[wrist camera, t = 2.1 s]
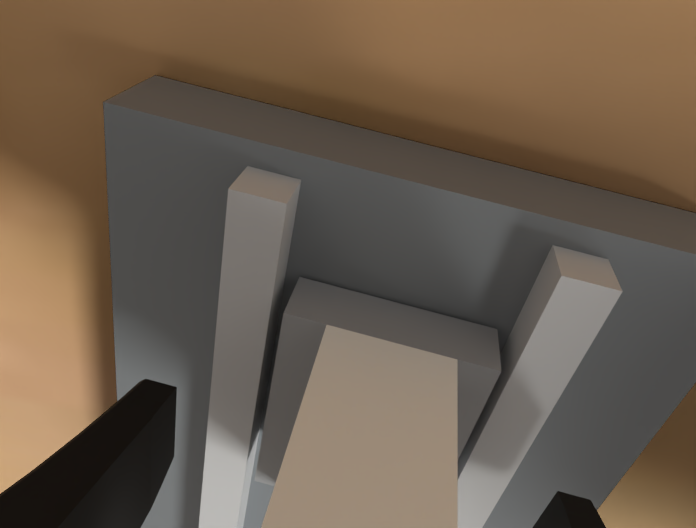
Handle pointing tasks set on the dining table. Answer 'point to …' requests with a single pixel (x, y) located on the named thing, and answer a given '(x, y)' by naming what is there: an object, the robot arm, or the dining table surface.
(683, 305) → the fader console
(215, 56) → the dining table surface
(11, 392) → the dining table surface
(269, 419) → the fader tab
